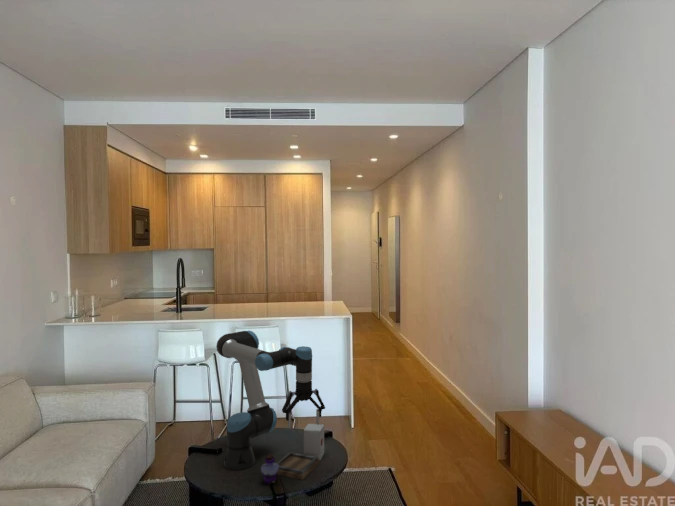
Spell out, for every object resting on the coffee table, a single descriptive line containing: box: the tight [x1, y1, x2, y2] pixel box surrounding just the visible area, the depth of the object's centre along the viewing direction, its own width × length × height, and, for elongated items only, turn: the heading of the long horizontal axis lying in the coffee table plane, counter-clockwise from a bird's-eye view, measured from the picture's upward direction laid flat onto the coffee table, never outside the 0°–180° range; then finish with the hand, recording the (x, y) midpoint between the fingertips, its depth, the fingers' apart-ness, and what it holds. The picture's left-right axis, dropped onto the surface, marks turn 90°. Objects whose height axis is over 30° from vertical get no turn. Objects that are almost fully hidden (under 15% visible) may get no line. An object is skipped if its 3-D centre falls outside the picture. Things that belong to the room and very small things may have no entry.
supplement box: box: [303, 423, 325, 461], centre depth 237 cm, size 9×9×15 cm
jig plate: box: [276, 451, 321, 481], centre depth 224 cm, size 17×18×3 cm
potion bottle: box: [260, 454, 279, 486], centre depth 211 cm, size 9×9×12 cm
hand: (303, 425), depth 217 cm, fingers open, 13 cm apart
